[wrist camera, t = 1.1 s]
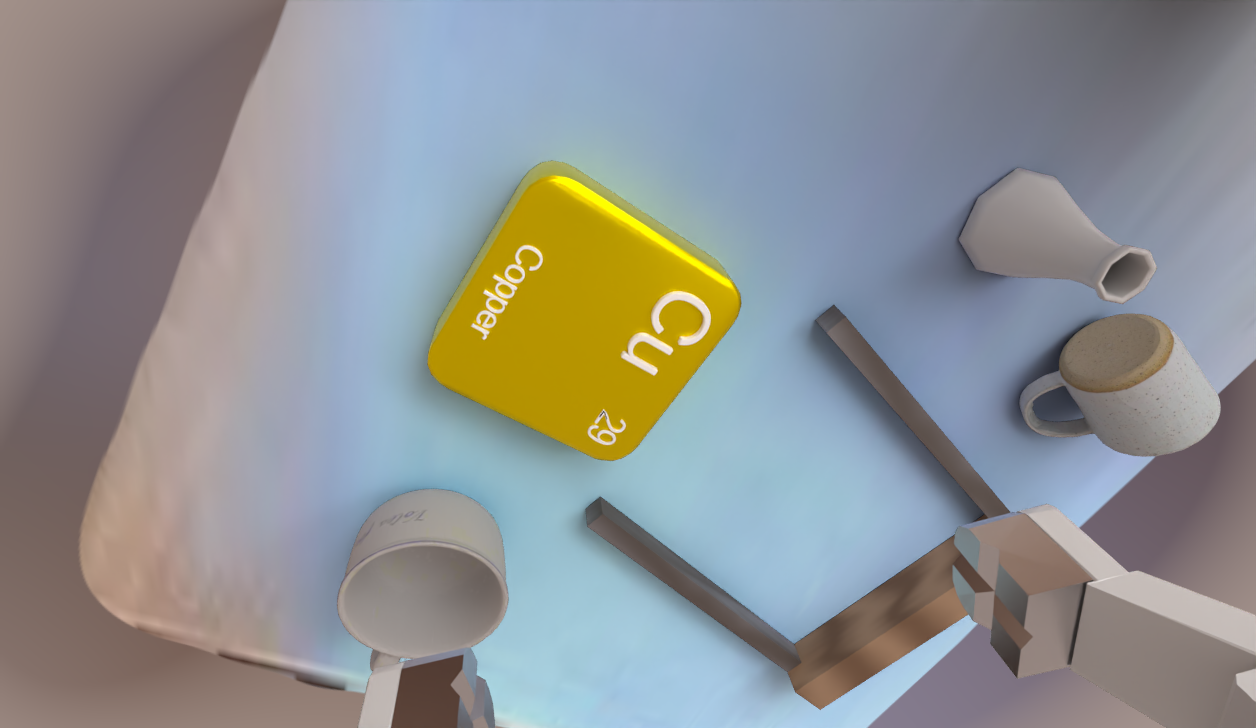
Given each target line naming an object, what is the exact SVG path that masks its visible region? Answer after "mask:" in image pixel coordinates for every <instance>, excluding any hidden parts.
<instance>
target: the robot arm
mask: <svg viewBox="0 0 1256 728" xmlns="http://www.w3.org/2000/svg"><path fill="white" fill-rule="evenodd" d="M954 545H955V546H956V547H957V548H958V550H959V551H960V552H961V554H960V555H959V557H958V558H957V559H956V561H955V562H954V563H953V583H954V586H955V590H956V593H957V596H958V598H959V600H960V602H961V604H962V606H963V607H964V609H965V610H966V612H967V613H968V614H969V616H970V617H971V619H972V620H973V621H974V622H976V623H978V624H980V625H982V626H984V627H986V628H988V629H990V630H991V640H990V643H991V645H992V646H993V648H994V649H995V650H996V652H997V653H998V654H999V655H1000V657H1001V658H1002V659H1003V661H1004V662H1005V663H1006V664H1007V666H1008V667H1009V668H1010V670H1011V671H1012V672H1013V674H1014V675H1015V676H1016V678H1021V677H1026V676H1030V675H1035V674H1040V673H1044V672H1048V671H1053V670H1057V669H1062V668H1066V667H1071V668H1070V670H1072V671H1073V672H1075V673H1077V674H1078V675H1080V676H1082V677H1083V678H1085V679H1087V680H1088V681H1090V682H1092V683H1093V684H1095V685H1096V686H1098V687H1100V688H1101V689H1103V690H1105V691H1106V692H1108V693H1110V694H1111V695H1113V696H1115V697H1116V698H1118V699H1120V700H1121V701H1123V702H1125V703H1126V704H1128V705H1129V706H1131V707H1133V708H1134V709H1136V710H1138V711H1139V712H1141V713H1143V714H1144V715H1146V716H1148V717H1149V718H1151V719H1153V720H1154V721H1156V722H1157V723H1159V724H1161V725H1163V726H1164V727H1166V728H1256V615H1254V614H1251V613H1249V612H1246V611H1243V610H1241V609H1238V608H1235V607H1232V606H1230V605H1227V604H1225V603H1222V602H1220V601H1217V600H1214V599H1212V598H1209V597H1206V596H1204V595H1201V594H1198V593H1196V592H1193V591H1191V590H1188V589H1185V588H1182V587H1180V586H1177V585H1174V584H1172V583H1169V582H1167V581H1164V580H1161V579H1159V578H1156V577H1154V576H1151V575H1148V574H1146V573H1143V572H1140V571H1135V572H1128V571H1126V570H1125V569H1124V568H1123V567H1122V566H1121V565H1120V564H1119V563H1118V562H1116V561H1115V560H1114V559H1113V558H1112V557H1111V556H1110V555H1109V554H1107V553H1106V552H1105V551H1104V550H1103V549H1102V548H1101V547H1100V546H1098V545H1097V544H1096V543H1095V542H1094V541H1093V540H1092V539H1091V538H1090V537H1088V536H1087V535H1086V534H1085V533H1084V532H1083V531H1082V530H1081V529H1079V528H1078V527H1077V526H1076V525H1075V524H1074V523H1073V522H1072V521H1070V520H1069V519H1068V518H1067V517H1066V516H1065V515H1064V514H1063V513H1062V512H1060V511H1059V510H1058V509H1057V508H1056V507H1054V506H1051V505H1049V504H1045V505H1041V506H1037V507H1033V508H1029V509H1025V510H1021V511H1018V512H1012V513H1008V514H1004V515H1000V516H996V517H992V518H989V519H985V520H981V521H977V522H973V523H969V524H965V525H961V526H959V527H958V529H957V530H956V532H955V539H954ZM357 728H495V719H494V710H493V702H492V698H491V695H490V691H489V688H488V686H487V683H486V681H485V680H484V679H483V678H481V677H479V676H477V660H476V658H475V655H474V653H473V651H472V649H471V648H462V649H457V650H453V651H448V652H444V653H439V654H435V655H430V656H425V657H421V658H416V659H412V660H407V661H404V662H400V663H396V664H391V665H387V666H382V667H378V668H375V669H374V671H373V672H372V674H371V676H370V677H369V679H368V684H367V688H366V692H365V697H364V701H363V705H362V709H361V714H360V718H359V722H358V727H357Z"/></svg>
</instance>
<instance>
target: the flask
mask: <svg viewBox="0 0 1256 728" xmlns="http://www.w3.org/2000/svg"><path fill="white" fill-rule="evenodd" d="M959 241H960V243H961V244H962V246H963V248H964V249H965V251H966V253H967V254H968V256H969V258H970V260H971V261H972V263H973V265H974V266H975V268H976V270H980V271H985V272H990V273H994V274H999V275H1004V276H1009V277H1018V278H1053V279H1069V280H1073V281H1077V282H1081V283H1083V284H1085V285H1087V286H1089V287H1091V288H1093V289H1095V291H1096V293H1097V295H1098V297H1099V298H1100V299H1102V300H1105V301H1110V302H1115V303H1120V304H1124V303H1125V302H1127V301H1128V300H1130V299H1131V298H1132V297H1134V296H1135V295H1137V294H1138V293H1140V292H1141V291H1143V290H1144V289H1145V287H1146V286H1147V284H1148V282H1149V281H1150V279H1151V277H1152V276H1153V274H1154V272H1155V271H1156V269H1157V266H1156V264H1155V262H1154V259H1153V257H1152V255H1151V252H1150V251H1148V250H1146V249H1141V248H1137V247H1133V246H1128V245H1122V246H1121V245H1119V244H1117V243H1116V242H1114V241H1113V240H1111V239H1110V238H1109V237H1107V236H1106V235H1105V234H1103V233H1102V232H1101V231H1099V230H1098V229H1097V228H1096V227H1095V226H1094V224H1093V223H1092V222H1091V221H1090V220H1089V219H1088V217H1087V216H1086V215H1085V214H1084V213H1083V212H1082V210H1081V209H1080V208H1079V207H1078V206H1077V204H1076V203H1075V202H1074V200H1073V199H1072V198H1071V196H1070V195H1069V194H1068V192H1067V191H1066V190H1065V188H1064V187H1063V186H1062V184H1061V183H1060V182H1059V181H1058V180H1057V178H1056V177H1054V176H1050V175H1046V174H1042V173H1038V172H1034V171H1030V170H1026V169H1022V168H1016V169H1015V170H1014V171H1012V172H1011V173H1010V174H1008V175H1007V176H1006V177H1004V178H1003V179H1002V180H1000V181H999V182H998V183H997V184H995V185H994V186H993V187H991V188H990V189H989V190H987V191H986V192H985V193H983V194H982V195H981V196H979V197H978V199H977V201H976V203H975V205H974V208H973V210H972V212H971V214H970V216H969V218H968V220H967V223H966V225H965V227H964V229H963V231H962V233H961V236H960V238H959Z"/></svg>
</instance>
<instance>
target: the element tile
mask: <svg viewBox="0 0 1256 728" xmlns="http://www.w3.org/2000/svg"><path fill="white" fill-rule="evenodd" d="M740 307H741V296H740V292H739V290H738V289H737V287H736V285H735V284H734V282H733V281H732V280H731V278H730V277H729V275H728V274H727V273H726V271H725V270H724V268H723V267H722V266H721V264H720V263H719V262H718V261H717V260H716V259H715V258H713V257H712V256H710V255H709V254H707V253H706V252H704V251H702V250H701V249H699V248H698V247H696V246H695V245H693V244H692V243H690V242H689V241H687V240H686V239H684V238H682V237H681V236H679V235H678V234H676V233H675V232H673V231H672V230H670V229H669V228H667V227H666V226H664V225H662V224H661V223H659V222H658V221H656V220H655V219H653V218H652V217H650V216H649V215H647V214H646V213H644V212H642V211H641V210H639V209H638V208H636V207H635V206H633V205H632V204H630V203H629V202H627V201H626V200H624V199H622V198H621V197H619V196H618V195H616V194H615V193H613V192H612V191H610V190H609V189H607V188H606V187H604V186H602V185H601V184H599V183H598V182H596V181H595V180H593V179H592V178H590V177H589V176H587V175H586V174H584V173H582V172H581V171H579V170H578V169H576V168H575V167H573V166H571V165H568V164H566V163H563V162H557V161H548V162H543V163H540V164H538V165H537V166H535V167H534V168H532V169H531V170H530V171H529V172H528V173H527V174H526V175H525V177H524V178H523V179H522V181H521V182H520V184H519V186H518V187H517V189H516V191H515V192H514V194H513V196H512V197H511V199H510V201H509V202H508V204H507V206H506V207H505V209H504V211H503V212H502V214H501V216H500V218H499V219H498V221H497V223H496V224H495V226H494V228H493V229H492V231H491V233H490V234H489V236H488V238H487V239H486V241H485V243H484V244H483V246H482V248H481V249H480V251H479V253H478V254H477V256H476V258H475V260H474V261H473V263H472V265H471V266H470V268H469V270H468V271H467V273H466V275H465V276H464V278H463V280H462V281H461V283H460V285H459V286H458V288H457V290H456V291H455V293H454V295H453V296H452V298H451V300H450V301H449V303H448V305H447V307H446V308H445V310H444V312H443V313H442V315H441V317H440V318H439V320H438V323H437V325H436V328H435V331H434V335H433V338H432V341H431V345H430V348H429V352H428V362H427V364H428V367H429V370H430V372H431V375H432V376H433V377H434V378H435V379H436V380H437V381H438V382H439V383H440V384H442V385H443V386H445V387H446V388H448V389H450V390H452V391H454V392H456V393H458V394H460V395H462V396H464V397H467V398H469V399H471V400H473V401H475V402H477V403H479V404H481V405H483V406H485V407H488V408H490V409H492V410H494V411H496V412H498V413H500V414H502V415H504V416H507V417H509V418H511V419H513V420H515V421H517V422H519V423H521V424H523V425H525V426H528V427H530V428H532V429H534V430H536V431H538V432H540V433H542V434H544V435H547V436H549V437H551V438H553V439H555V440H557V441H559V442H561V443H563V444H565V445H568V446H570V447H572V448H574V449H576V450H578V451H580V452H582V453H584V454H587V455H589V456H591V457H593V458H595V459H599V460H607V461H614V460H618V459H622V458H624V457H625V456H627V455H629V454H630V453H631V452H633V451H634V450H635V449H636V448H637V447H638V445H639V444H640V443H641V441H642V440H643V439H644V438H645V436H646V435H647V434H648V433H649V431H650V430H651V429H652V427H653V426H654V425H655V424H656V422H657V421H658V420H659V418H660V417H661V416H662V415H663V413H664V412H665V411H666V409H667V408H668V407H669V406H670V404H671V403H672V402H673V400H674V399H675V398H676V397H677V395H678V394H679V393H680V392H681V390H682V389H683V388H684V386H685V385H686V384H687V383H688V381H689V380H690V379H691V377H692V376H693V375H694V374H695V372H696V371H697V370H698V368H699V367H700V366H701V365H702V363H703V362H704V361H705V359H706V358H707V357H708V356H709V354H710V353H711V352H712V351H713V349H714V348H715V347H716V345H717V344H718V343H719V342H720V340H721V339H722V338H723V336H724V335H725V334H726V333H727V331H728V330H729V329H730V327H731V326H732V325H733V323H734V322H735V320H736V318H737V317H738V314H739V311H740Z"/></svg>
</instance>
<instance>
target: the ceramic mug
mask: <svg viewBox="0 0 1256 728" xmlns="http://www.w3.org/2000/svg"><path fill="white" fill-rule="evenodd" d="M1062 386H1065V387H1066V389H1067V390H1068V392H1069V393H1070V395H1071V396H1072V398H1073V399H1074V400H1075V402H1076V403H1077V405H1078V406H1079V408H1080V410H1081V412H1082V414H1083V415H1084V418H1081V419H1077V420H1071V421H1061V422H1053V421H1046V420H1041V419H1039V418H1038V417H1036V415H1035V413H1034V411H1033V409H1032V408H1033V403H1032V402H1033V401H1034V400H1035V399H1036V398H1037V397H1039V396H1040V395H1042V394H1045V393H1046V392H1048V391H1050V390H1053V389H1056V388H1059V387H1062ZM1019 405H1020V409H1021V412H1022V415H1023V418H1024V420H1025V422H1026V424H1027V425H1028V426H1029V427H1030V428H1031V429H1032V430H1033V431H1035V432H1037V433H1039V434H1042V435H1045V436H1051V437H1077V436H1082V435H1088V434H1092V433H1094V434H1096V436H1097V437H1098V438H1099V439H1100V440H1101V441H1102V442H1103V444H1105V445H1107V446H1108V447H1110V448H1111V449H1113V450H1115V451H1117V452H1120V453H1124V454H1128V455H1133V456H1159V455H1165V454H1170V453H1174V452H1177V451H1180V450H1183V449H1185V448H1187V447H1189V446H1191V445H1192V444H1195V443H1197V442H1198V441H1200V440H1201V439H1202V438H1203V437H1205V436H1206V435H1207V434H1208V433H1209V432H1210V431H1211V429H1212V428H1213V427H1214V426H1215V424H1216V422H1217V420H1218V418H1219V414H1220V400H1219V397H1218V395H1217V393H1216V391H1215V390H1214V388H1213V387H1212V386H1211V384H1210V383H1209V381H1208V380H1207V379H1206V377H1205V376H1204V374H1203V372H1202V371H1201V369H1200V368H1199V366H1198V365H1197V363H1196V362H1195V361H1194V359H1193V358H1192V356H1191V355H1190V354H1189V352H1188V351H1187V349H1186V347H1185V346H1184V344H1183V343H1182V341H1181V340H1180V339H1179V337H1178V336H1177V334H1175V333H1174V332H1173V331H1172V330H1171V329H1170V328H1169V327H1168V326H1167V325H1165V324H1164V323H1163V322H1161V321H1160V320H1158V319H1155V318H1153V317H1151V316H1147V315H1143V314H1119V315H1114V316H1110V317H1106V318H1103V319H1100V320H1097V321H1095V322H1093V323H1091V324H1089V325H1087V326H1086V327H1084V328H1083V329H1081V330H1080V331H1078V332H1077V333H1076V334H1075V335H1074V336H1073V337H1072V338H1071V339H1070V340H1069V341H1068V343H1067V344H1066V345H1065V346H1064V348H1063V350H1062V352H1061V355H1060V359H1059V370H1058V371H1056V372H1054V373H1050V374H1047V375H1044V376H1042V377H1040V378H1038V379H1037V380H1035V381H1034V382H1032V383H1030V384H1029V385H1028V386H1027V387H1026V388H1025V389H1024V391H1023V392H1022V394H1021V396H1020V401H1019Z"/></svg>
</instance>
